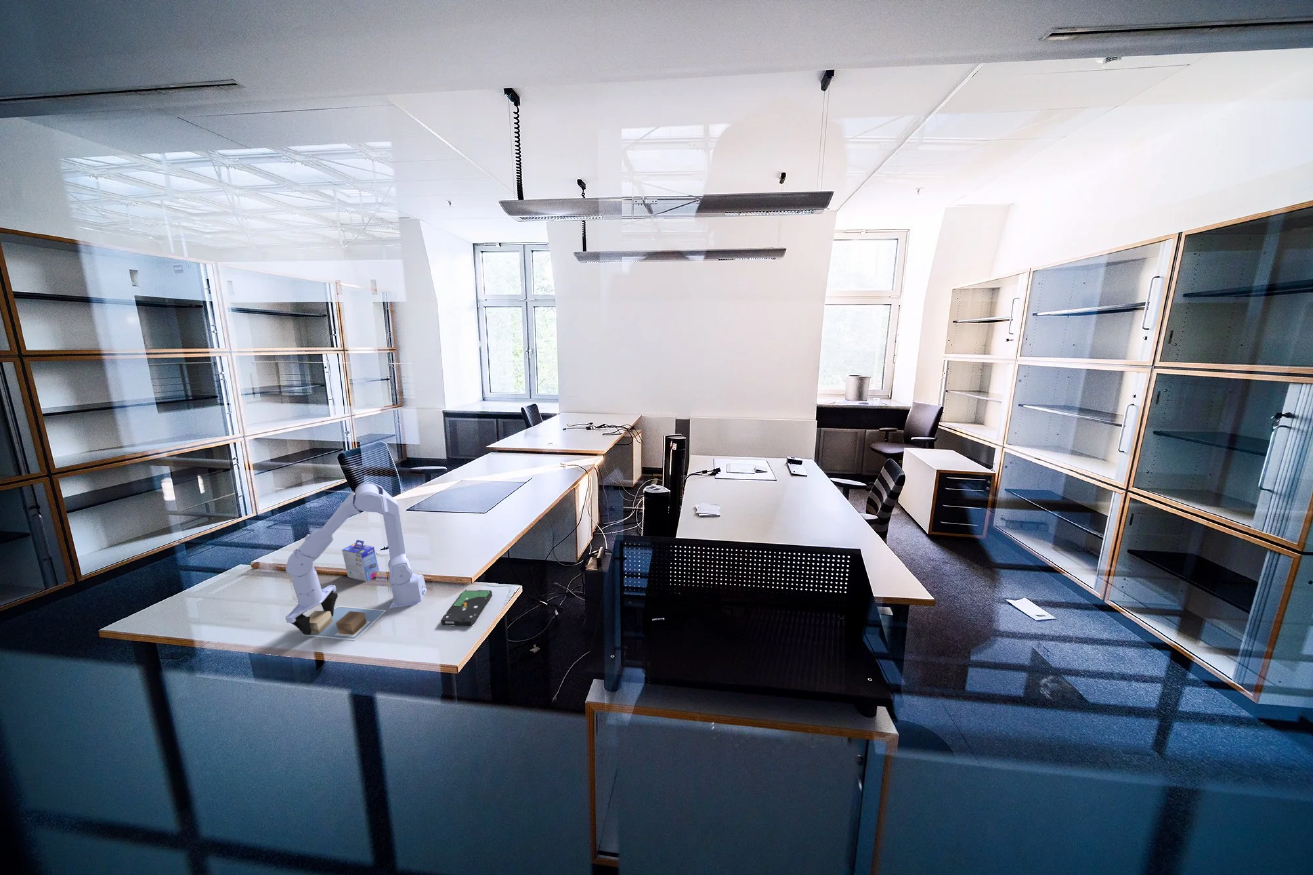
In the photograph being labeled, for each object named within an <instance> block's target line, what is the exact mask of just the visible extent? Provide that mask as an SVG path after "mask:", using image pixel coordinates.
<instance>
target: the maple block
mask: <svg viewBox="0 0 1313 875" xmlns="http://www.w3.org/2000/svg"><path fill="white" fill-rule="evenodd" d="M307 617H310V628H311V633H317V634H320V633H321V632H322V631H323V630H324V629H325V628H327V627H328V626H329V625H330V624H331V623H332V622H333V620H332V616H331V612H330V611H324V610H314V611H313V612H311V613H310V614H309V615H308V616H307Z"/></svg>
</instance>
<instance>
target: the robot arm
mask: <svg viewBox="0 0 1313 875" xmlns="http://www.w3.org/2000/svg"><path fill="white" fill-rule="evenodd" d="M362 512H366V513H367V512H368V513H377V514H380V515H382V517H383V522H384V530H385V535H386V542H387V548H388V552H389V561H388V563H387V566H388V570H389V580H388V581H389V584H390V589H391V594H392V598H393V600H392V601H391V602H392V603H391V604H390V606H389V609H393V608H399V607H400V608H401V607H405V606H413V605H421V603H422V601H423V599H424V596H425V595H426V593H427V590H428V589H427V585H426V582H425V577H424V574H418V573H415V572H414V571H413V570H412V568H411V563H410V562H411V560H410V557H409V556H408V555H407V553H406V546H405V541H404V540H405V539H404V535H403V528H402V520H401V514H400V506H399V502H398V501H397V500H396V499H395V498H394V497H393V496H391V494H390V493H388V492H387V491H386V490H385V489H384V488H383V486H382V485H379V484H376V483H373V482H368V481H367V482H363V483H360V484H359V485H357V487H356V488H355V490H354V491H352V492H351V493H350V494H348V496H347V497H346V498H345V499H344V501H343V502H341V504H340V505H339V507H337V509H336V510H335V512H334V513H333V514H332V515H331V517H329V519H328V520H327V522H326V523H325V524H324V525H323V526H322V528H321V529H317V530H313V531H312V532H311V534H310V533H309V534H308V533H307V535H305V537H304V541H303V543H301V545H300V546H299V547H298V548H295V549H294V550H293V552H292V553H291V554H290V555H289V557H288V559H287V562H286V564H285V565H286V566H285V572H286V574H288V575H289V576H290V578H291V583H292V587H293V589H294V594H295V595H296V599H297V603H298V604H297V605H296V606H295V607H294V608H293V609H292V610H291V612H289V614H287V615H286V616H285V618H284V619H285V620H286V623H289V624H292V625H293V626H294V627H296V628H297V629H298V630H299V631H300V632H301V634H303V635H310V634H311V628H310V617H308V616H307V615H306V614H305V613H307V611H310V610H311V609H314V608H316V607H317V606H319V605H321V607H322V611H330V612H331V616H333V614H334V608H335V605H336V602H337V600H338V598H339V596H338V595H339V594H338V593H336V591H337V587H336V585H334V584H329V585H327V586H326V587H324V588H322V587H321V586H322V585H321V583H320V580H319V576H318V573H317V571H316V569H315V568H316V567H315V565H314V563H313V562H314V561H316V560H318V559H319V557H320V556H321V555H322V554H323V553H324V552H325V551H326V549H327V548H328V547H329V546H330V545H331V543H332V542H333V540H334V538H333V534H335V532H337V530H338V529H339V528H340V527H341V526H342V525H343V524H344V523H345V522H346V521H347V519H349V518H350V517H351V516H354V515H360V514H361V513H362Z"/></svg>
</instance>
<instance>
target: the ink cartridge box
mask: <svg viewBox="0 0 1313 875" xmlns="http://www.w3.org/2000/svg"><path fill="white" fill-rule="evenodd" d="M364 543H365V541H364V540H361V539H356V541H355V542H354V543H352V544H350V545H348V546H346V547H344V548H343V549H341V552H342V557H343V562H344V565H345V570H346V575H347V577H348V578H350V579H351V578H352V579H355V580H359V581H363V582H369V581H371V579H373V578H375V577H377V576H378V575H379V572H380V569H379V564H378V560H377V556H376V550H375V546H371V545H366V544H364ZM379 576H380V575H379Z"/></svg>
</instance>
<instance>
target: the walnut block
mask: <svg viewBox="0 0 1313 875" xmlns="http://www.w3.org/2000/svg"><path fill="white" fill-rule="evenodd" d="M366 623H367V622H366V618H365V614H364V612H353V611H349V612H348V613H347V614H346V615H345V616H343V617H342V618H341V619H340V620H339V621H337V622H336V625H337V629H338V632H339V633H340V634H351V635H354V634H355V633H356V632H357V631H358V630H359V629H360V628H362V627H363V626H364V625H365V624H366Z"/></svg>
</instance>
